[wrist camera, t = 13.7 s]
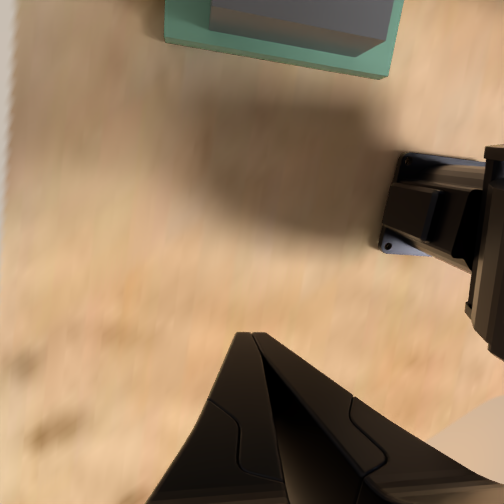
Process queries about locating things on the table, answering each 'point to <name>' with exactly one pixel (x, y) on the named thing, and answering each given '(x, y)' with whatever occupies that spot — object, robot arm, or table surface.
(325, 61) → the board
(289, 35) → the connector socket
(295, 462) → the robot arm
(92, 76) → the table surface
